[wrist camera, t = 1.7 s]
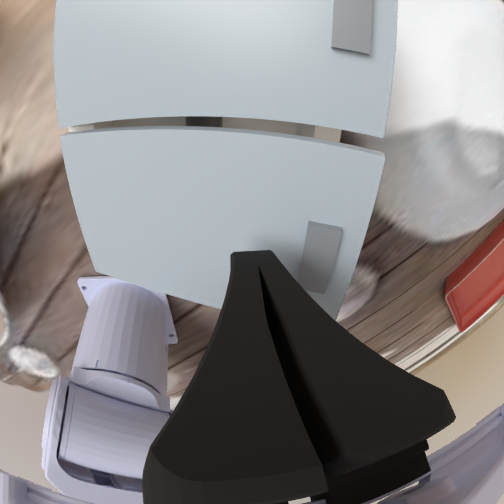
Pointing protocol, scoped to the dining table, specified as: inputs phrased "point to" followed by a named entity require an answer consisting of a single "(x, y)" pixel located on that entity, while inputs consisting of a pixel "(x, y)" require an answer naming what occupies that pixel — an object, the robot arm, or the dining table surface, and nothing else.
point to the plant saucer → (477, 281)
